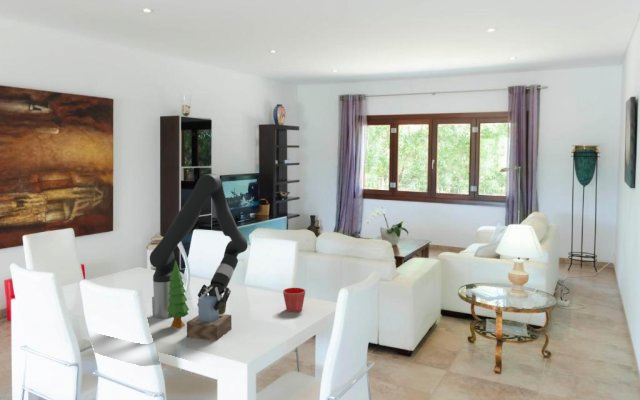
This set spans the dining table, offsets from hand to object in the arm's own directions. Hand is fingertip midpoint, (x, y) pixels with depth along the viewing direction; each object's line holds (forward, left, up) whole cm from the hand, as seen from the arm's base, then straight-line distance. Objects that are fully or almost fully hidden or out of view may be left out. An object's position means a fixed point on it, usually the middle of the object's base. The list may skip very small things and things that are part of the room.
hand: (207, 308), depth 224 cm
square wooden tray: (+1, +1, -12) cm, 12 cm away
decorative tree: (-17, +8, -11) cm, 22 cm away
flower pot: (+30, +39, -11) cm, 51 cm away
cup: (-3, +22, -11) cm, 25 cm away
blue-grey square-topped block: (0, +1, -6) cm, 6 cm away
